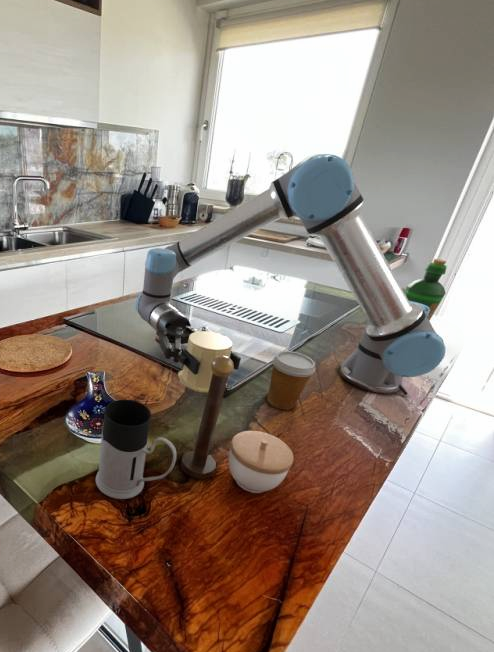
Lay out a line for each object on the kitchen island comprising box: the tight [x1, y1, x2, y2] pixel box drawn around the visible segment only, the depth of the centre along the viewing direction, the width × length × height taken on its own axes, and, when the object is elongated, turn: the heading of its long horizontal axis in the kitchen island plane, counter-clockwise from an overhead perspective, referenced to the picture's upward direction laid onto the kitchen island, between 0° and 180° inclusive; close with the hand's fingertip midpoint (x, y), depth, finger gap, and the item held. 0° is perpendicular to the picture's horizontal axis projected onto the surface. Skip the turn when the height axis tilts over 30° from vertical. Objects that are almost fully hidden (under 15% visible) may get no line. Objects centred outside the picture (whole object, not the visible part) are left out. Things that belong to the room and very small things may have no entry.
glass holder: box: [95, 399, 178, 500], centre depth 69 cm, size 9×14×15 cm, turn 50°
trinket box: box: [227, 430, 294, 494], centre depth 74 cm, size 11×11×9 cm
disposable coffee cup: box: [266, 350, 316, 411], centre depth 98 cm, size 10×10×12 cm
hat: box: [177, 331, 233, 394], centre depth 90 cm, size 10×10×10 cm
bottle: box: [404, 258, 448, 321], centre depth 134 cm, size 11×11×28 cm
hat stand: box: [180, 356, 235, 480], centre depth 73 cm, size 6×6×24 cm
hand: (218, 366), depth 86 cm, fingers closed on hat, 9 cm apart
